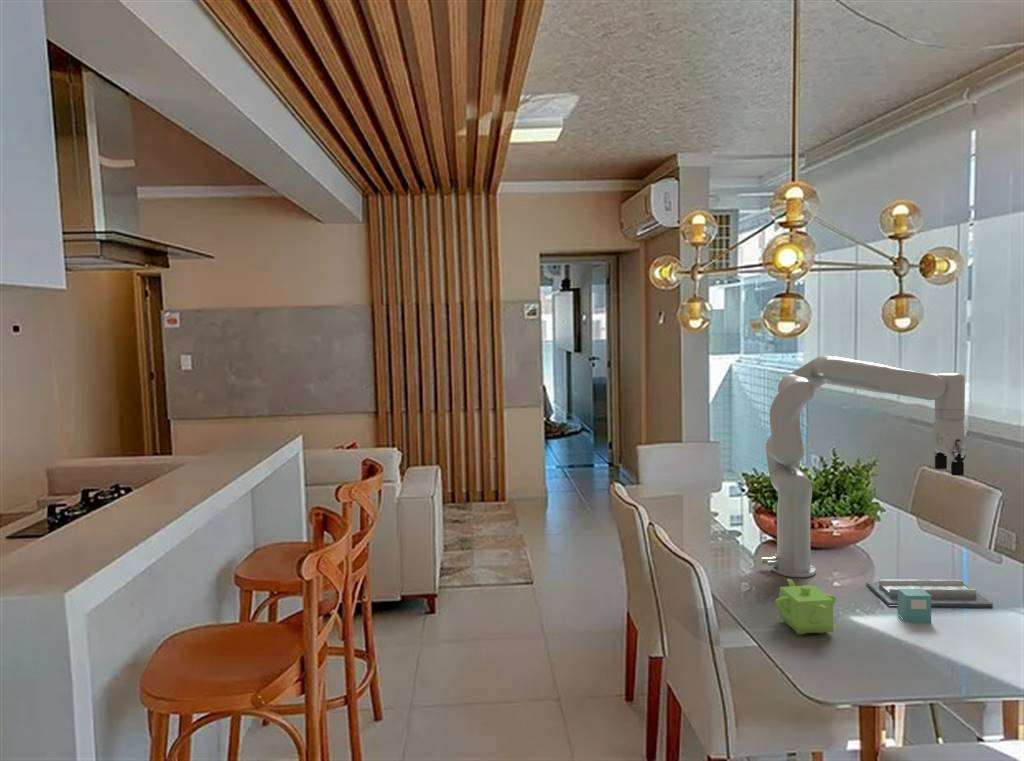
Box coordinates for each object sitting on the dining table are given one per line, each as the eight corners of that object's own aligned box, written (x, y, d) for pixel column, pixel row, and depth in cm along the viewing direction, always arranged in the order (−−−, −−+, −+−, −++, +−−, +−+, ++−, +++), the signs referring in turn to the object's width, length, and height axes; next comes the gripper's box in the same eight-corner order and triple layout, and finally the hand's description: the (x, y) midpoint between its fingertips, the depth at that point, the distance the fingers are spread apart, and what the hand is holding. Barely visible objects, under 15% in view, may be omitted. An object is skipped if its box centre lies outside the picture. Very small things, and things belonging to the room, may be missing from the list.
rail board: (889, 606, 193) (889, 594, 193) (866, 585, 209) (866, 574, 209) (992, 607, 190) (992, 595, 190) (961, 585, 206) (961, 574, 206)
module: (906, 622, 183) (906, 595, 182) (897, 614, 188) (897, 588, 187) (931, 623, 182) (931, 596, 182) (921, 615, 187) (922, 588, 187)
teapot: (857, 643, 172) (857, 600, 171) (793, 647, 171) (793, 603, 170) (816, 611, 192) (816, 572, 191) (759, 614, 191) (759, 575, 190)
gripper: (922, 411, 223) (922, 466, 224) (950, 418, 205) (950, 478, 207) (948, 411, 222) (947, 466, 223) (978, 418, 205) (978, 477, 206)
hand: (948, 471), depth 215 cm, fingers open, 9 cm apart
